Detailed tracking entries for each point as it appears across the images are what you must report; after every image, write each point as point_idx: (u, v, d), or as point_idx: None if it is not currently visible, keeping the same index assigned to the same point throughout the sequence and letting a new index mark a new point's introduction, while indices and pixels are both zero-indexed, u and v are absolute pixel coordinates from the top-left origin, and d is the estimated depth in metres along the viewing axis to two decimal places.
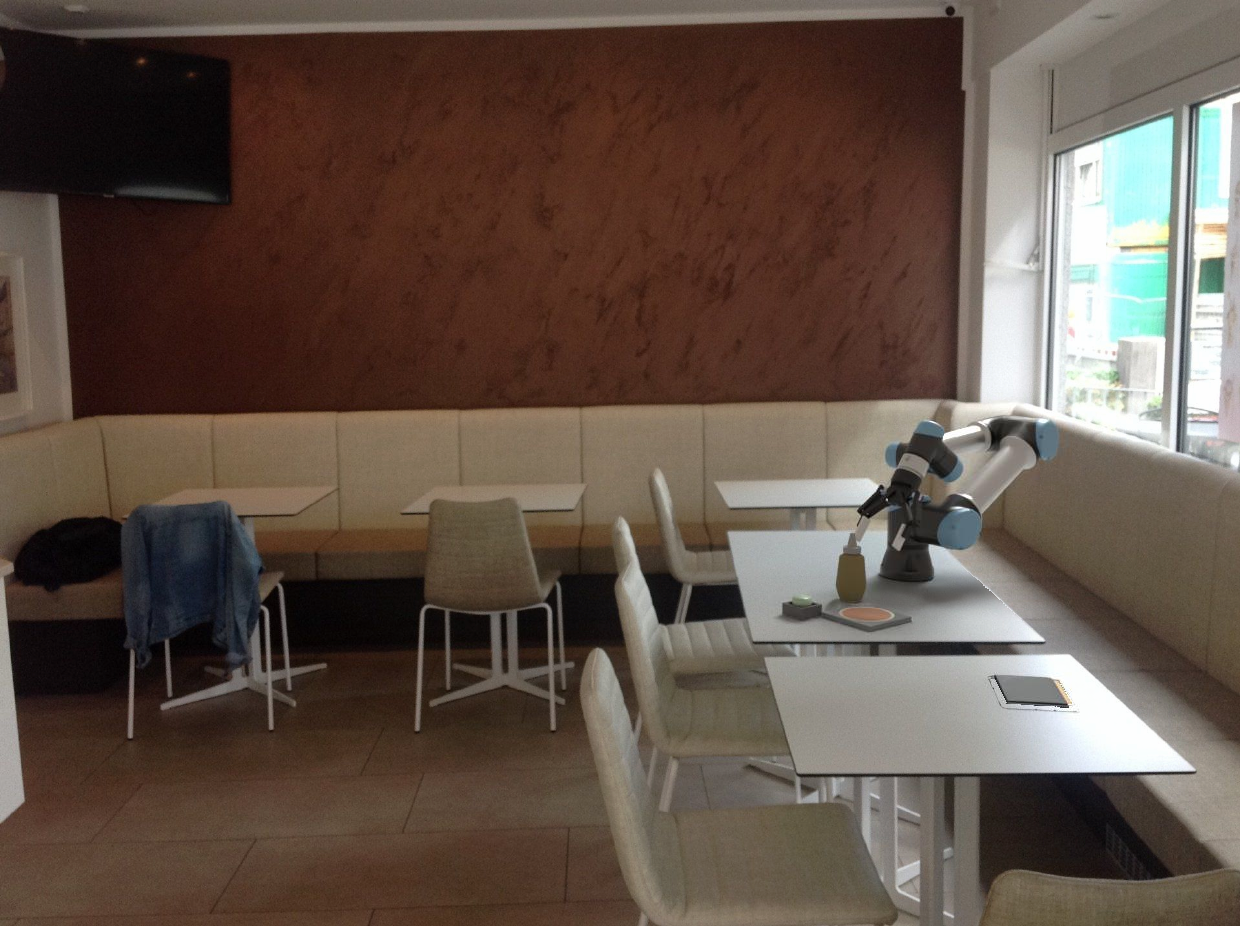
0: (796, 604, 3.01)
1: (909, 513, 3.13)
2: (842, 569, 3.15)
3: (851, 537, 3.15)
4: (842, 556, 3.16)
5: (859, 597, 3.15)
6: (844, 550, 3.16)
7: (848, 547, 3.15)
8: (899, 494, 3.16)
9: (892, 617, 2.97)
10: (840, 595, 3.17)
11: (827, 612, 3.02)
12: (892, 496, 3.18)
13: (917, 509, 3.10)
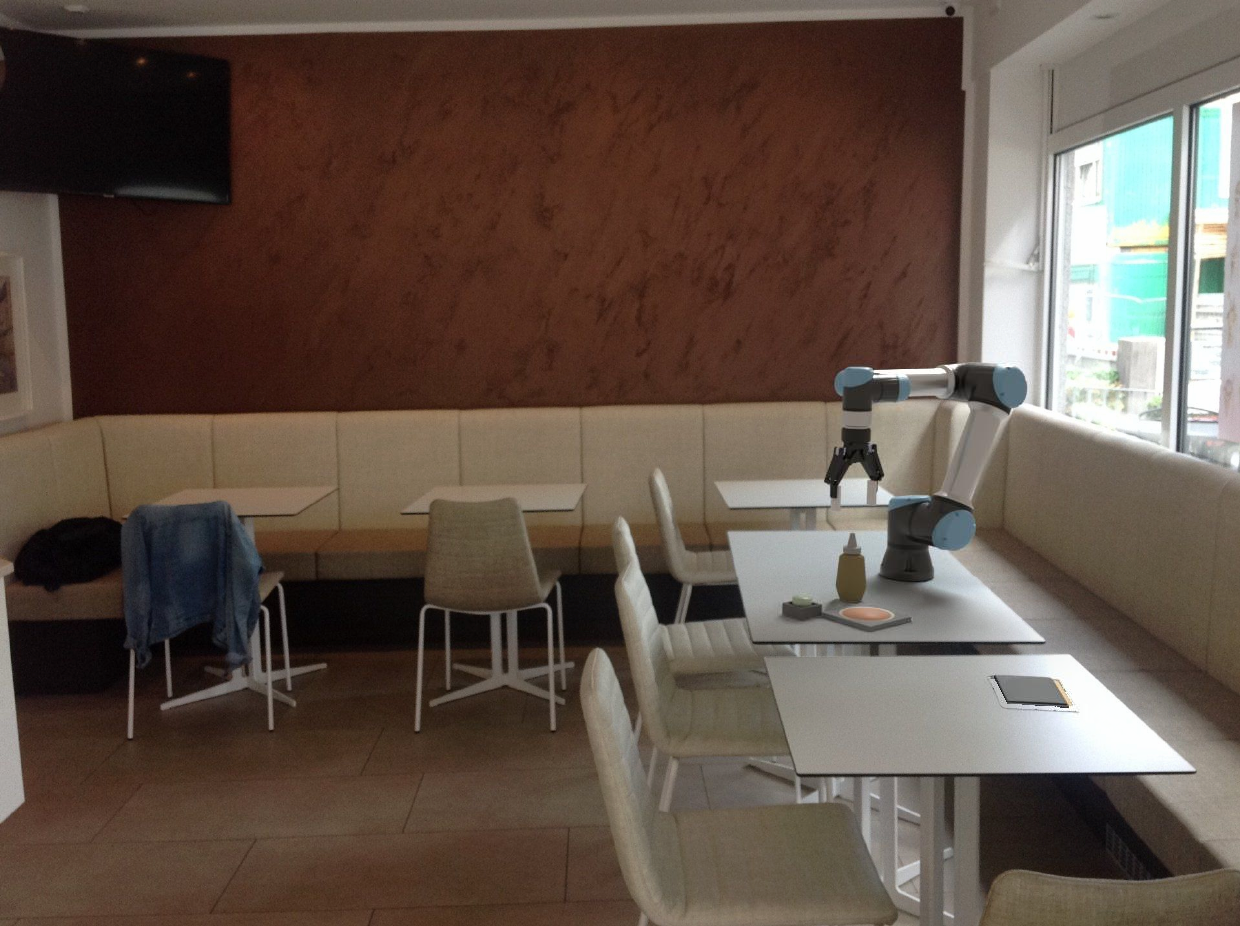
0: (796, 604, 3.01)
1: (838, 471, 3.10)
2: (842, 569, 3.15)
3: (851, 537, 3.15)
4: (842, 556, 3.16)
5: (859, 597, 3.15)
6: (844, 550, 3.16)
7: (848, 547, 3.15)
8: None
9: (892, 617, 2.97)
10: (840, 595, 3.17)
11: (827, 612, 3.02)
12: None
13: (830, 467, 3.09)
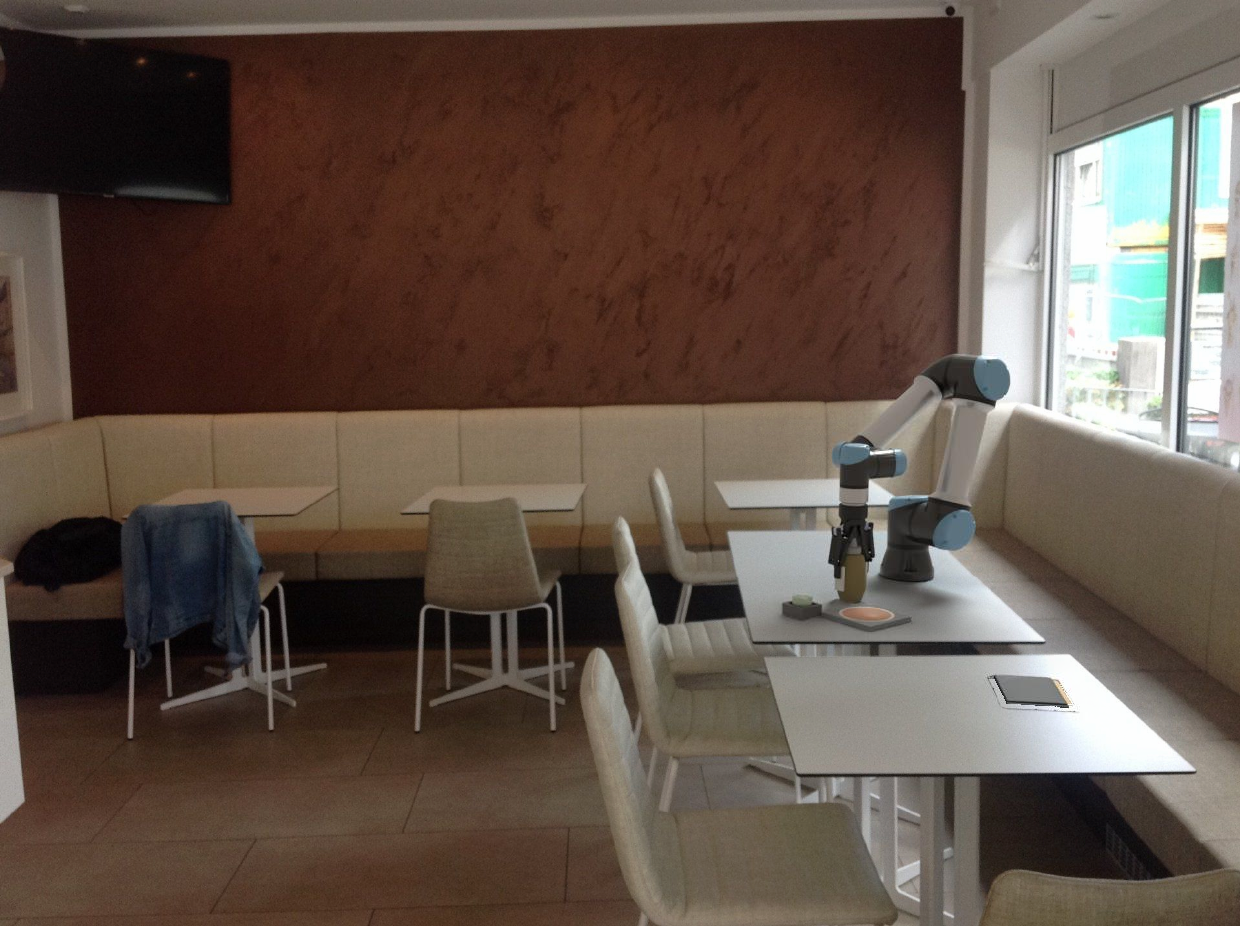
0: (796, 604, 3.01)
1: (839, 550, 3.14)
2: None
3: None
4: None
5: (859, 597, 3.15)
6: None
7: (848, 547, 3.15)
8: None
9: (892, 617, 2.97)
10: (840, 595, 3.17)
11: (827, 612, 3.02)
12: None
13: (831, 548, 3.13)
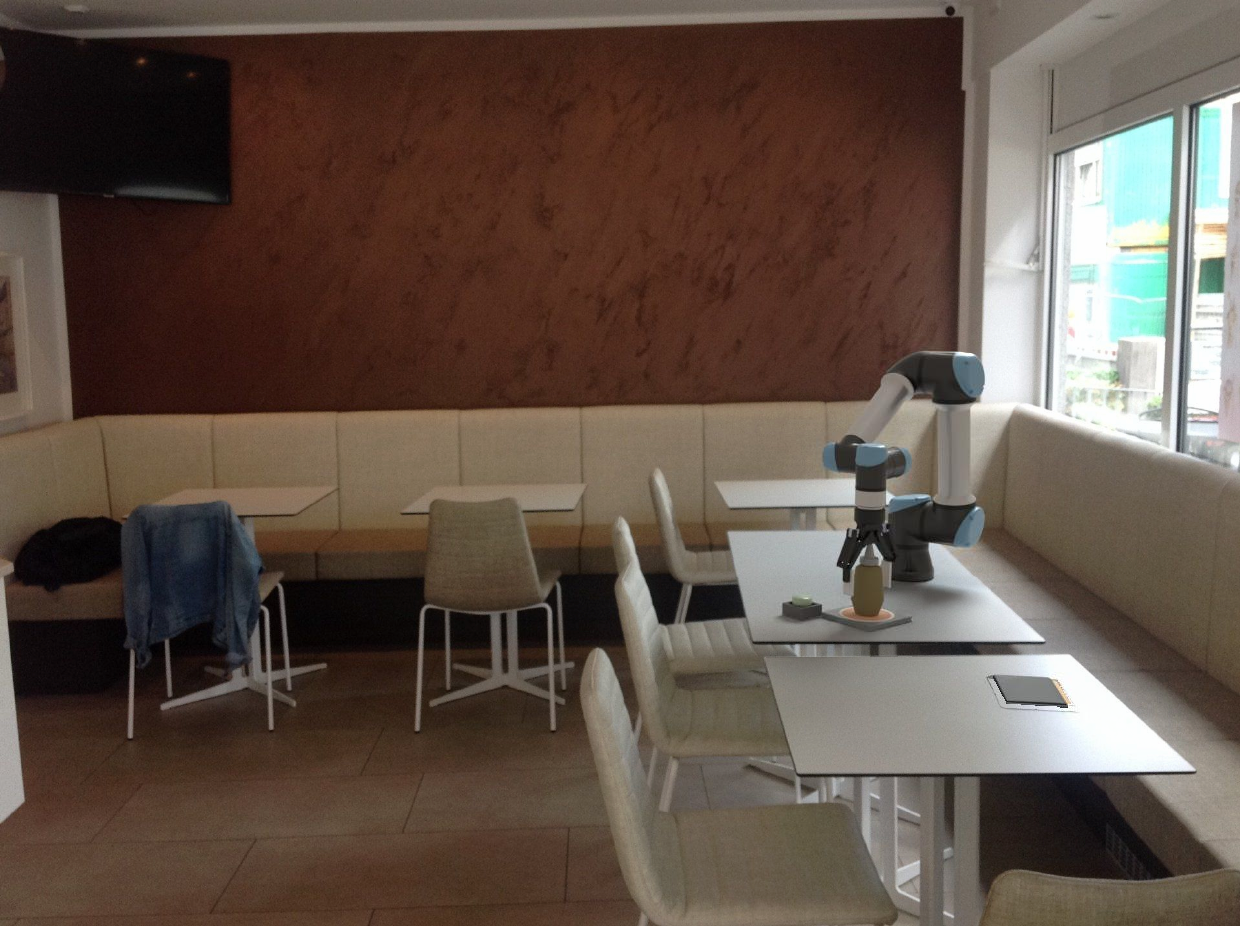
0: (796, 604, 3.01)
1: (851, 553, 2.94)
2: (858, 581, 2.97)
3: (868, 547, 2.97)
4: (858, 567, 2.97)
5: (876, 611, 2.97)
6: (861, 561, 2.97)
7: (865, 558, 2.97)
8: None
9: (892, 617, 2.97)
10: (856, 609, 2.99)
11: (827, 612, 3.02)
12: None
13: (842, 550, 2.93)
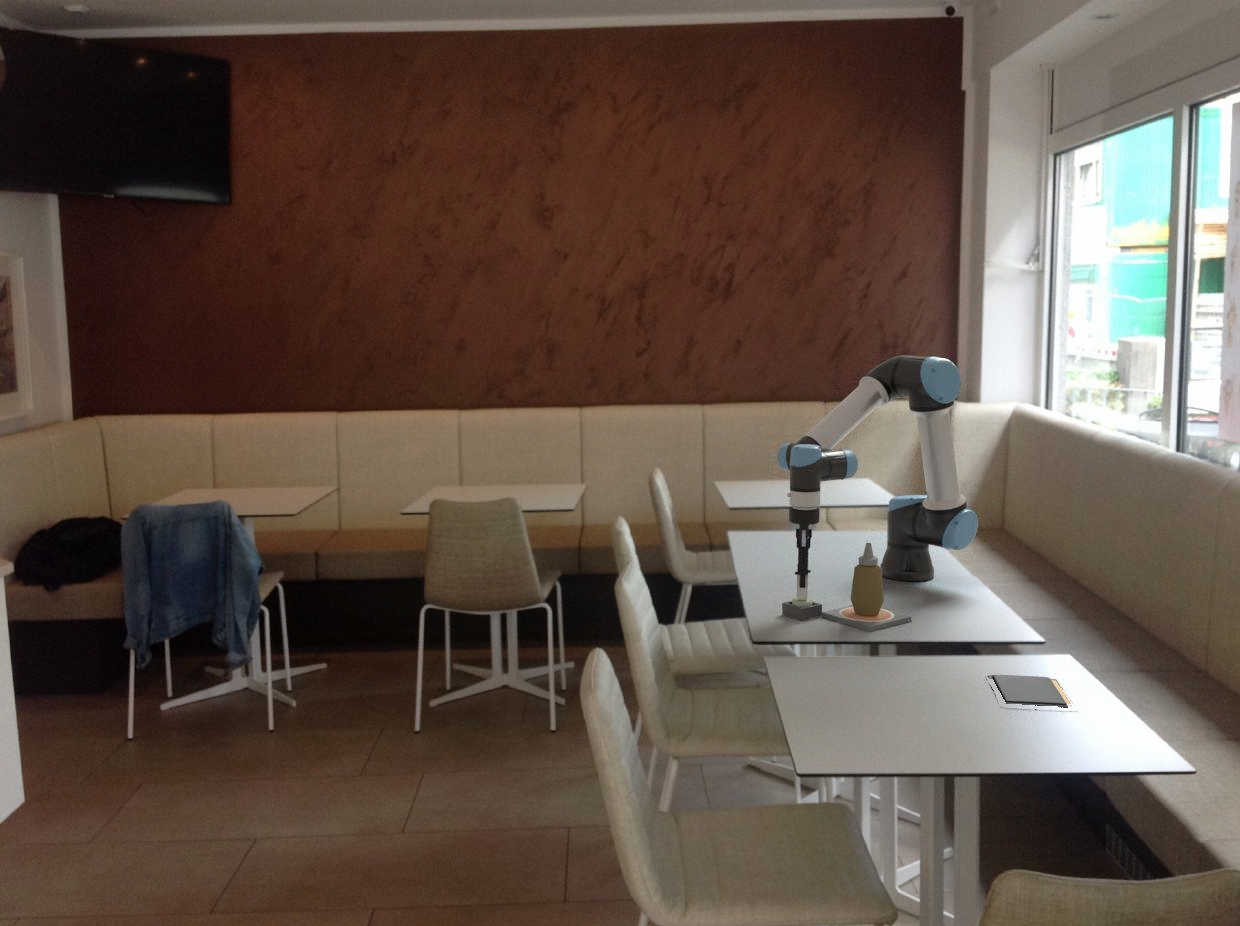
0: None
1: None
2: (858, 581, 2.97)
3: (867, 547, 2.97)
4: (858, 567, 2.97)
5: (876, 611, 2.97)
6: (860, 561, 2.98)
7: (864, 558, 2.97)
8: None
9: (892, 617, 2.97)
10: (856, 609, 2.99)
11: (827, 612, 3.02)
12: None
13: (799, 559, 2.97)
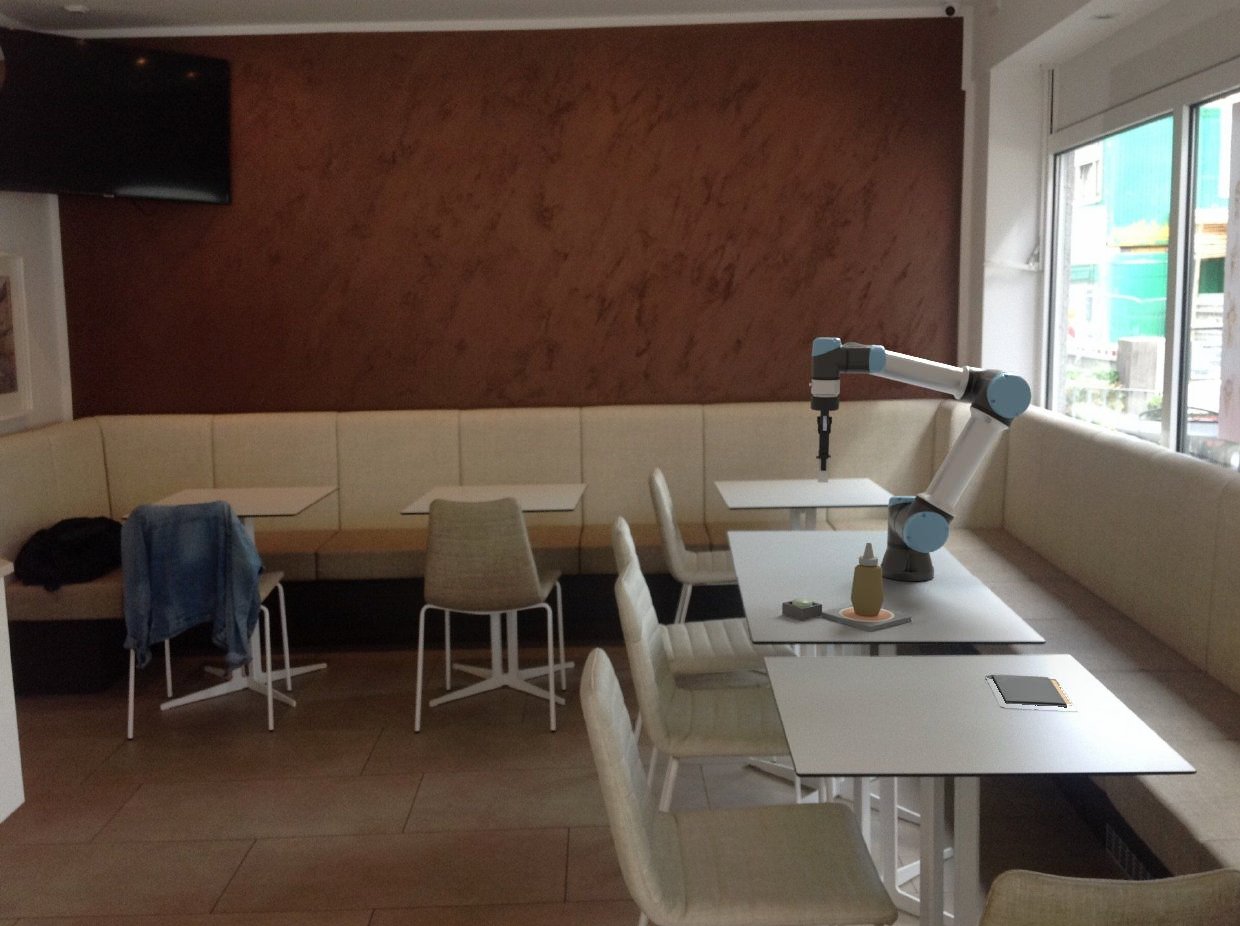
0: None
1: None
2: (858, 582, 2.97)
3: (867, 547, 2.97)
4: (858, 567, 2.97)
5: (876, 611, 2.97)
6: (860, 561, 2.98)
7: (864, 558, 2.97)
8: (817, 422, 3.24)
9: (892, 617, 2.97)
10: (856, 609, 2.99)
11: (827, 612, 3.02)
12: None
13: (821, 443, 3.21)
